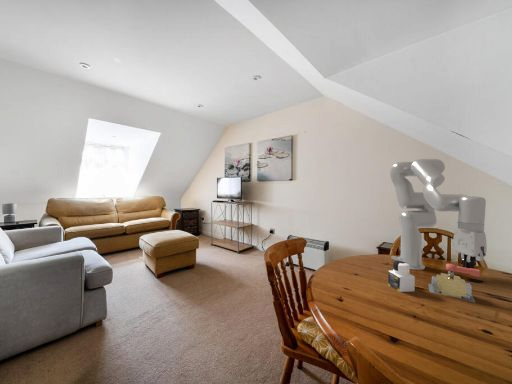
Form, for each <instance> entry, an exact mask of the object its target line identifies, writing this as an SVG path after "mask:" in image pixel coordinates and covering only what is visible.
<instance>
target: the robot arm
mask: <svg viewBox="0 0 512 384" xmlns="http://www.w3.org/2000/svg"><path fill="white" fill-rule="evenodd" d="M445 169H446V165H445V162H443V161H442V160H441V159H439V158H421V159H416V160H415V161H400V162H396V163H394V164H392V166H391V168H390V171H389V177H390V179H391V182H392V184H393V186H394V188H395V193H396V199H397V202H398V206H399V207H400V208H401V209H405V210H406V211H405V210H404V211H401V212H400V214H399V216H398V219H399V220H398V221H399V226H400V254H399V256H396V255H391V256H390V257H391V260H393V261H403V262H406V263H408V264H409V265H410V270H418V271H423V270H425V268H426V266H425V265H424V264H423V263H422V251H423V250H422V247H423V246H422V243H423V241H422V239H423V238H422V233H421V232H420V230H419V229H420V228H421V229H422V228H426V229H427V228H433V227H435V226H436V224H437V215H436V212H435V211H438V212H458V215H457V217H458V219H457V220H458V221H457V227H456V228H455V230H454V234H453V239H452V249H453V250H454V251H455V252H456V253H457V254H459V255H460V259H461V260H462V266H461V267H465V268H473V269H475V263H477V261H478V262H483V261H484V259H485V257H486V256H487V250H488V249H487V235H486V232H485V219H486V206H487V205H486V204H487V202H486V201H487V200H486V198H485V197H481V196H476V195H475V196H471V195H466V194H456V193H455V194H452V193H451V194H442V193H440V191H438V189H436V188H438V187H440V186H441V185H442V184H443V183H444V182H445V176H444V175H443V174H442V173H444V171H445ZM406 177H417V178H418V180H419V181H420V182H421V183H422V184H423V188H422V189H423V190H422V192H420V191H419V192H415V190H414V186H413V185H412V182H411V181H410V180H409V179H407V178H406ZM416 209H417V210H416Z"/></svg>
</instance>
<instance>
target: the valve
mask: <svg viewBox="0 0 512 384" xmlns="http://www.w3.org/2000/svg"><path fill="white" fill-rule="evenodd" d="M431 284H432V287H433V292H437V293H440V291H441V293H442V294H443V295H442V296H445V295H447V296H446V297H449V296H452V297H451V298H453V297H456V298H455V299H458V298H460V299H459V300H462V299H461V297H463V299H468V300H470V295H471V294H472V292H473V291H472V290H473V289H472V288H473V286H472V285H471V283H470V282H466V281H465V279H462V278H461V277H460V276H458V275H455V272H452V271H448V270H447V273H443V272H440V274H436V276H434V275H432V276H431ZM472 295H473V294H472Z"/></svg>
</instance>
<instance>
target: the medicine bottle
mask: <svg viewBox="0 0 512 384" xmlns="http://www.w3.org/2000/svg"><path fill="white" fill-rule="evenodd" d="M410 270H411V269H410V265H409V264H408V263H406V262H403V261H397V260H394V261H393V262H392V269H391V270H388V272H387V273H388V274H387V286H388V287H391V288H393V289H395V290H396V291H397V292H399V293H404V292H406V293H407V292H415V288H416V287H415V286H416V285H415V282H416V281H415V280H416V276H415V275H413V274H411V273H410Z"/></svg>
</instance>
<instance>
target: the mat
mask: <svg viewBox="0 0 512 384" xmlns="http://www.w3.org/2000/svg"><path fill="white" fill-rule="evenodd" d="M428 290H429V293H433V294H437V295H442V296H445V297H449V298H454V299H459V300H462V301H467V302H471V303H476V301H475V298H474V297H473V294H471V295H470V300H468V299H463V297H461V299H460V298H456V297H452V296H447V295H443V294H442V293H441V291H440V293H437V292H433V287H432V283H428Z"/></svg>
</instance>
